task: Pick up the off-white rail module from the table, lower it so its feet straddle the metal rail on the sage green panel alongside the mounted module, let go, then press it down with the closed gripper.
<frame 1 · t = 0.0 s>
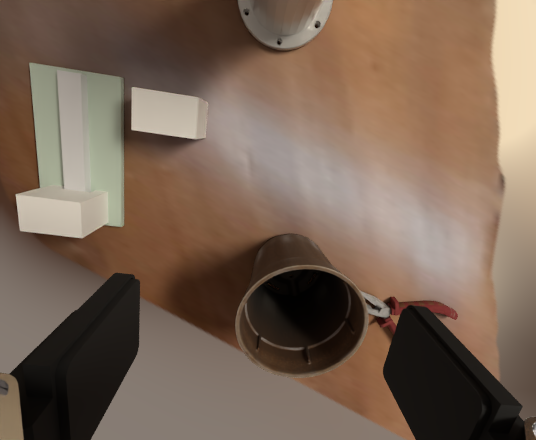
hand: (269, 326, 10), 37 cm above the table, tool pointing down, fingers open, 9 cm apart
pliers: (402, 307, 54), on the table
module: (179, 116, 42), on the table
plant pot: (288, 266, 50), on the table
din panel: (83, 151, 43), on the table
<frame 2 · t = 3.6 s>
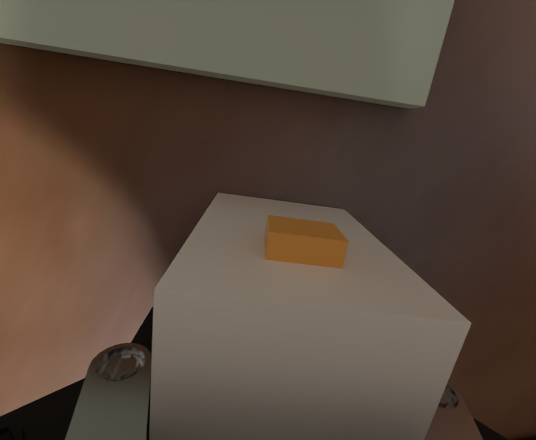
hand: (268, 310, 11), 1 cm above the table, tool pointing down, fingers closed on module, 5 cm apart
module: (267, 290, 12), on the table, touching gripper
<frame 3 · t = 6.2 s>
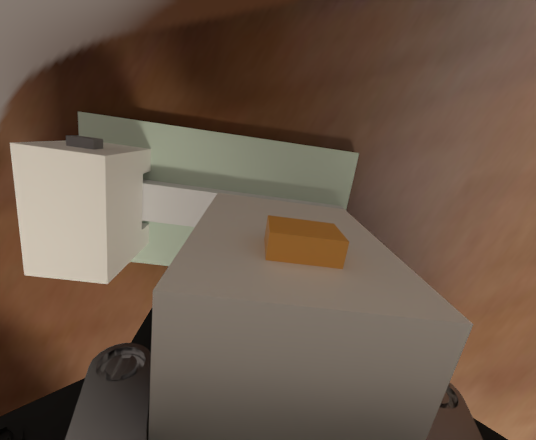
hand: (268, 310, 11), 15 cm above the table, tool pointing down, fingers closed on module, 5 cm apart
module: (267, 291, 12), point 14 cm above the table, touching gripper
din panel: (218, 203, 25), on the table
when the fingers open (3 cm above the table, at t = 9.0 s): module stays where it is, resting on din panel.
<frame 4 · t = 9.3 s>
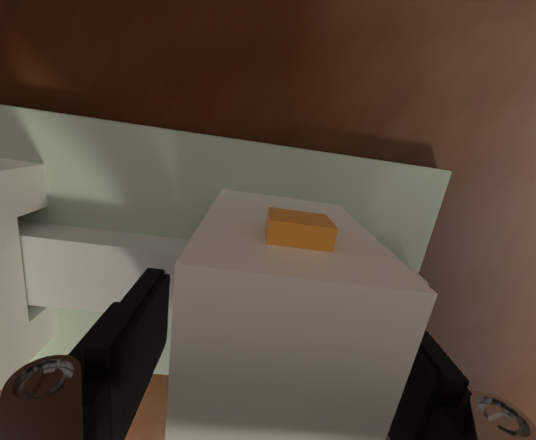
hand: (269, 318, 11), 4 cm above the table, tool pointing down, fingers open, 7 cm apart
module: (267, 280, 13), point 1 cm above the table, touching din panel
din panel: (184, 260, 14), on the table
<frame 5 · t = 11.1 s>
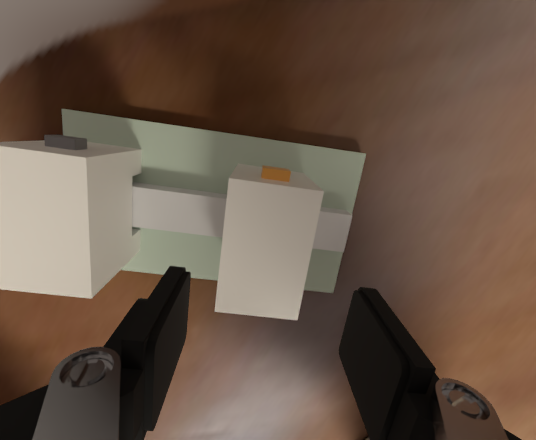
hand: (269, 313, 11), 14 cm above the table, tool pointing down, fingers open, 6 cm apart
module: (263, 218, 23), point 1 cm above the table, touching din panel
din panel: (214, 208, 23), on the table
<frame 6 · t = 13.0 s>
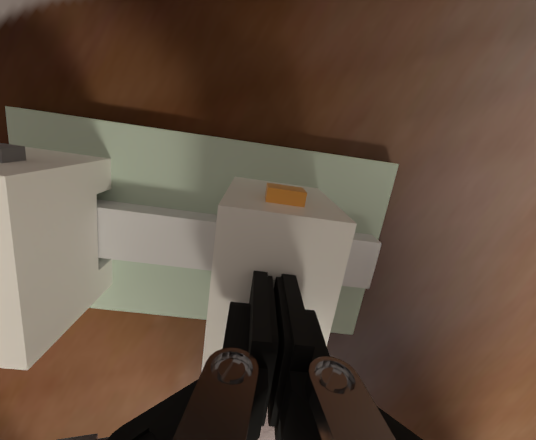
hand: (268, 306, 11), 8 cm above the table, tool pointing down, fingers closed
module: (267, 244, 18), point 1 cm above the table, touching din panel, gripper
din panel: (205, 231, 19), on the table
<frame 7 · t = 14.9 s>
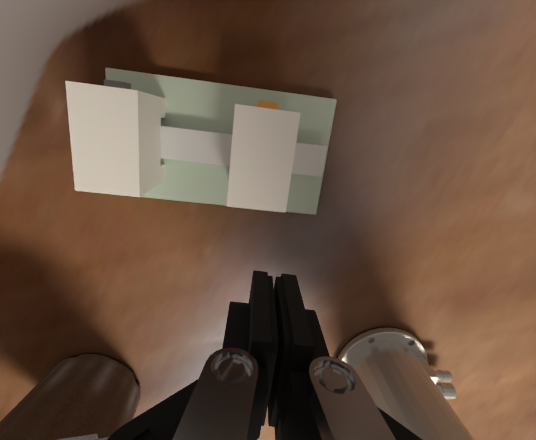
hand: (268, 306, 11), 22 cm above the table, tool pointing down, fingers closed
module: (259, 153, 30), point 1 cm above the table, touching din panel
plant pot: (95, 385, 40), on the table
din panel: (221, 147, 30), on the table
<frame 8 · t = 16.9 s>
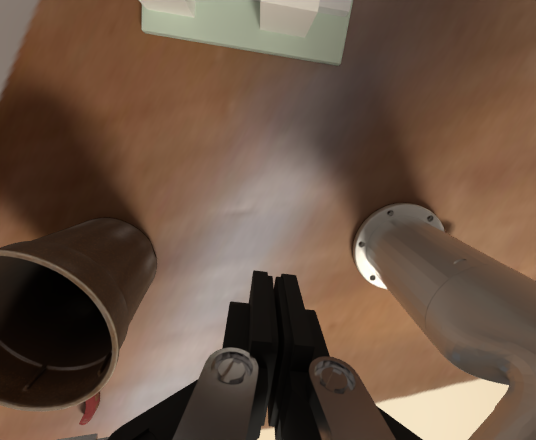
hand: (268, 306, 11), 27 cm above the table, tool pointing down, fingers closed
pliers: (86, 367, 46), on the table
plant pot: (112, 258, 40), on the table
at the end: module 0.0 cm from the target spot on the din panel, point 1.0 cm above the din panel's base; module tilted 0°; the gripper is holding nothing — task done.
